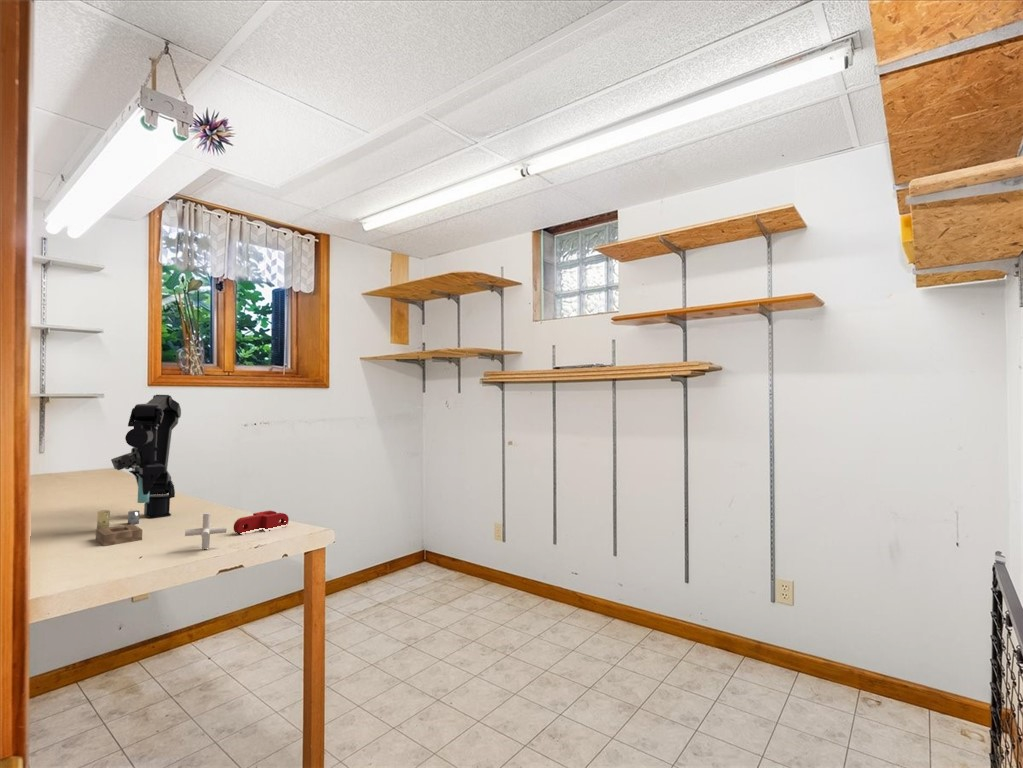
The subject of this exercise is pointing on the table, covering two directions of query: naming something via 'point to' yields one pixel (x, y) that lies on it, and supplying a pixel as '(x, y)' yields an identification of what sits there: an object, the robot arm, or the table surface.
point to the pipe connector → (205, 530)
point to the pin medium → (103, 519)
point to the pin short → (133, 517)
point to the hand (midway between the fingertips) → (143, 493)
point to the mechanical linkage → (260, 521)
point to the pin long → (141, 493)
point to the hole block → (118, 534)
